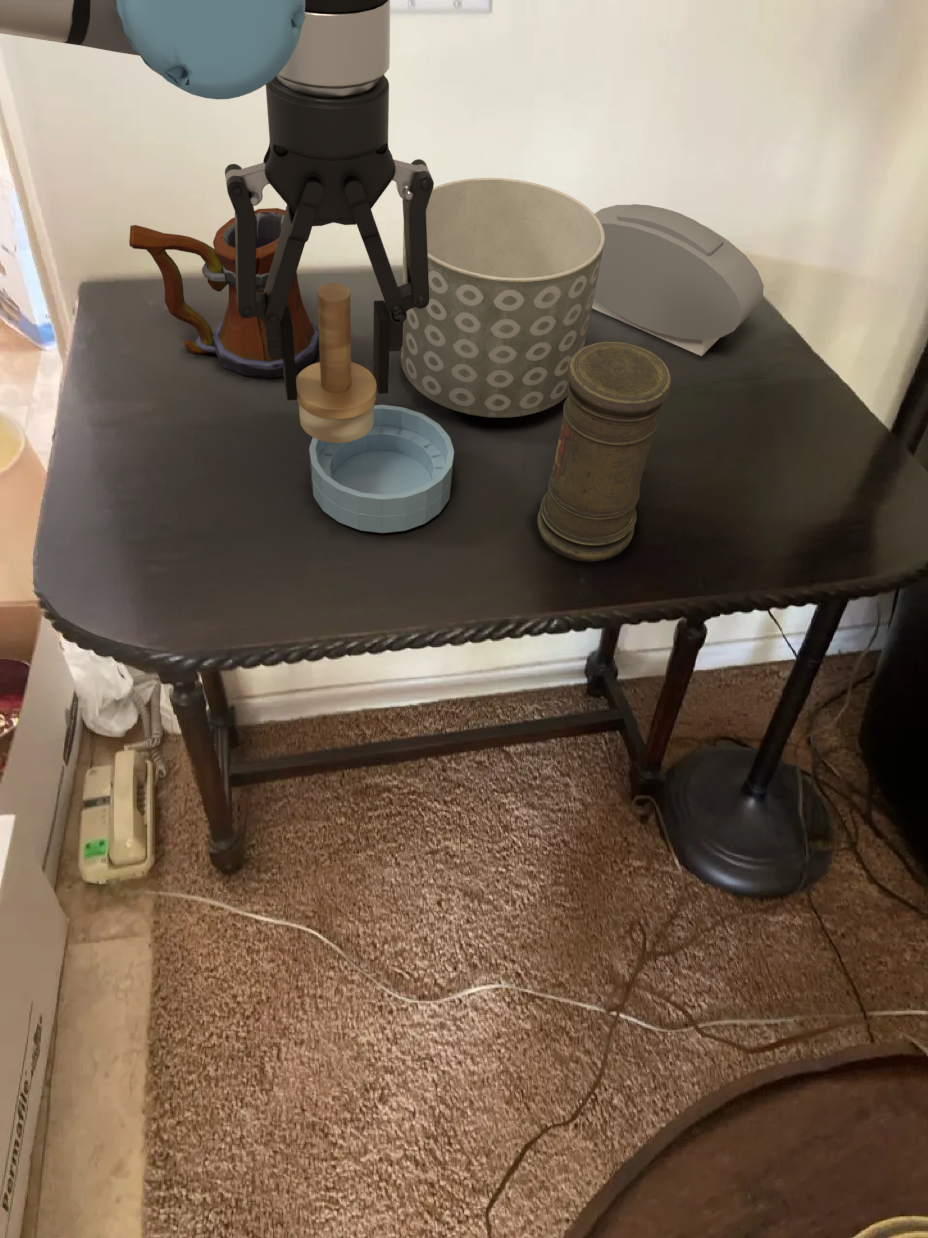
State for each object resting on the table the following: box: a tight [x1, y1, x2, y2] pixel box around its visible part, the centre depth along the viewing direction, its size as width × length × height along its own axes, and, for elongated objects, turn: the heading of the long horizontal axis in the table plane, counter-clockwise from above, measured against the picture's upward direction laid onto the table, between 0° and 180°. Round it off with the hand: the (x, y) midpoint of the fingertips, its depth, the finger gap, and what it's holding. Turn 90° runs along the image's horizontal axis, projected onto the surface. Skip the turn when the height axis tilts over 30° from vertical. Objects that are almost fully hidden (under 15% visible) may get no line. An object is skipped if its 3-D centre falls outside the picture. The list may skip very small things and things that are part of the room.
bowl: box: [308, 404, 455, 534], centre depth 91 cm, size 13×13×5 cm
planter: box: [400, 177, 605, 419], centre depth 98 cm, size 19×19×18 cm
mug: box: [128, 207, 319, 379], centre depth 100 cm, size 18×12×15 cm, turn 98°
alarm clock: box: [592, 203, 765, 357], centre depth 110 cm, size 23×6×13 cm, turn 54°
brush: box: [296, 282, 378, 443], centre depth 74 cm, size 6×6×12 cm
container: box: [536, 341, 672, 563], centre depth 85 cm, size 9×9×18 cm
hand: (336, 385), depth 76 cm, fingers closed on brush, 6 cm apart
